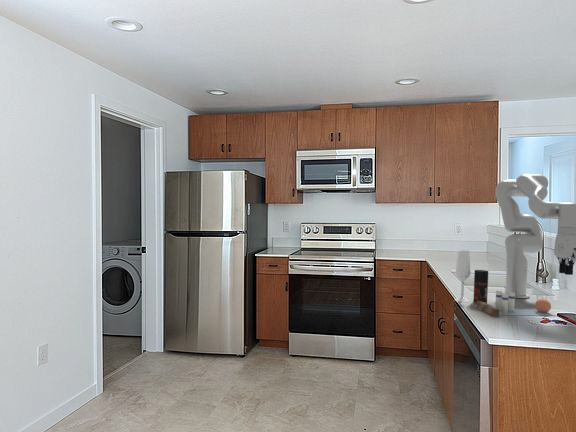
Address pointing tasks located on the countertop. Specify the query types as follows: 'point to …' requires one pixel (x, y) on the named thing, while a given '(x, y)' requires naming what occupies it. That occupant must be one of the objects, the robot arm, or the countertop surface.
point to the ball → (543, 305)
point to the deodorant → (480, 286)
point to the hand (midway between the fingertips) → (565, 273)
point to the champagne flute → (463, 271)
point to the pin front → (511, 302)
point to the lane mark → (527, 312)
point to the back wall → (488, 308)
